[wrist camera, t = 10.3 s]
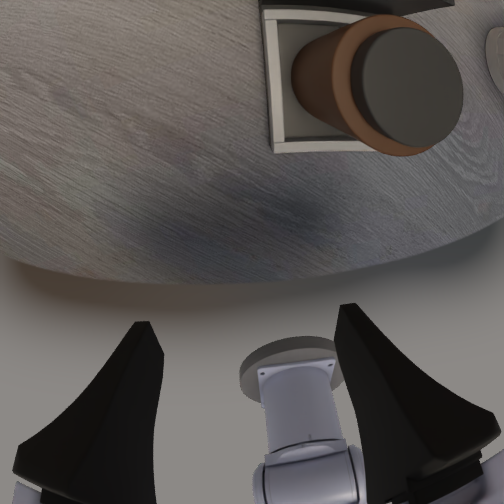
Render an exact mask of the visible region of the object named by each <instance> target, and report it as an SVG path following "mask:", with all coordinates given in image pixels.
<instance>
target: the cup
mask: <svg viewBox="0 0 504 504" xmlns="http://www.w3.org/2000/svg"><path fill="white" fill-rule="evenodd" d="M485 51H486V60H487V65H488V69H489V72H490V75H491V77H492V79H493V81H494V83H495V85H496V87H497V88H498V90H499V91H500V92H501V93H502V94H503V95H504V27H495V28H493V29H491V30H490V32H489V33H488V35H487V39H486V46H485Z"/></svg>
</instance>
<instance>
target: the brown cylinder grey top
mask: <svg viewBox="0 0 504 504" xmlns="http://www.w3.org/2000/svg"><path fill="white" fill-rule="evenodd" d="M291 84H292V88H293V92H294V94H295V96H296V98H297V100H298V102H299V103H300V104H301V106H302V107H303V108H304V109H305V110H306V111H307V112H308V113H309V114H311V115H312V116H313V117H315V118H317V119H319V120H321V121H323V122H325V123H327V124H329V125H331V126H333V127H335V128H336V129H338V130H340V131H342V132H344V133H346V134H348V135H349V136H351V137H353V138H355V139H357V140H358V141H360V142H362V143H364V144H365V145H367V146H369V147H371V148H372V149H374V150H376V151H379V152H381V153H383V154H387V155H391V156H411V155H416V154H419V153H422V152H424V151H426V150H428V149H430V148H431V147H432V146H434V145H435V144H437V143H439V142H440V141H442V140H443V139H445V138H446V137H447V136H448V135H449V134H450V133H451V131H452V130H453V129H454V127H455V126H456V124H457V122H458V120H459V117H460V114H461V111H462V106H463V84H462V79H461V75H460V72H459V69H458V67H457V65H456V63H455V61H454V59H453V57H452V56H451V54H450V53H449V52H448V50H447V49H446V48H445V47H444V46H443V45H442V44H441V43H440V42H439V41H438V40H437V39H436V38H435V37H434V36H433V35H432V34H431V33H429V32H428V31H427V30H426V29H425V28H423V27H422V26H420V25H419V24H417V23H415V22H413V21H411V20H409V19H406V18H403V17H400V16H396V15H389V14H380V15H373V16H369V17H366V18H363V19H361V20H358V21H356V22H353V23H351V24H348V25H346V26H344V27H341V28H339V29H337V30H334V31H332V32H330V33H328V34H326V35H324V36H321V37H319V38H317V39H315V40H313V41H311V42H310V43H308V44H307V45H305V46H304V47H303V48H302V49H301V50H300V51H299V53H298V54H297V56H296V57H295V59H294V62H293V65H292V69H291Z"/></svg>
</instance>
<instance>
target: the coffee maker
mask: <svg viewBox="0 0 504 504" xmlns="http://www.w3.org/2000/svg"><path fill="white" fill-rule="evenodd" d="M454 5H455V3H454V0H259V10H260V21H261V32H262V44H263V56H264V68H265V81H266V95H267V109H268V124H269V140H270V146H271V148H272V150H273V152H274V154H279V153H297V152H326V151H376V150H374V149H372V148H371V147H369V146H367V145H365V144H364V143H362V142H360V141H358V140H357V139H355V138H353V137H351V136H349V135H348V134H346V133H344V132H342V131H340V130H338V129H336V128H335V127H333V126H331V125H329V124H327V123H325V122H323V121H321V120H319V119H317V118H315V117H313V116H312V115H311V114H309V113H308V112H307V111H306V110H305V109H304V108H303V107H302V106H301V104H300V103H299V102H298V100H297V98H296V96H295V94H294V92H293V88H292V84H291V69H292V65H293V62H294V59H295V57H296V56H297V54H298V53H299V51H300V50H301V49H302V48H303V47H304V46H305V45H307V44H308V43H310V42H311V41H313V40H315V39H317V38H319V37H321V36H324V35H326V34H328V33H330V32H332V31H334V30H337V29H339V28H341V27H344V26H346V25H348V24H351V23H353V22H356V21H358V20H361V19H363V18H366V17H369V16H373V15H380V14H389V15H396V16H404V15H409V14H413V13H417V12H422V11H427V10H432V9H437V8H443V7H449V6H454ZM377 152H379V151H377Z"/></svg>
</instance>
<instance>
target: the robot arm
mask: <svg viewBox="0 0 504 504" xmlns="http://www.w3.org/2000/svg"><path fill="white" fill-rule="evenodd" d="M334 343H335V348H336V353H337V357H338V362H339V365H340V368H341V371H342V374H343V377H344V380H345V383H346V386H347V389H348V392H349V395H350V398H351V401H352V404H353V407H354V410H355V414H356V418H357V423H358V428H359V433H360V438H361V445H362V451H361V449H360V448H358V447H355V445H350V446H348V448H347V444H346V440H345V439H343V436H342V432H341V427H340V423H339V419H338V415H337V411H336V407H335V402H334V398H333V395H332V390H331V386H330V382H331V378H332V374H333V370H334V366H335V362H336V360H335V358H334V357H327V358H320V359H313V360H306V361H299V362H290V363H282V364H273V365H262V366H259V367H258V368H257V373H258V381H259V390H260V398H261V406H262V408H264V409H265V414H266V426H267V437H268V448H269V454H266V455H265V463H260V464H259V465H258V467H257V469H256V470H255V471H254V474H253V496H254V501H255V504H387V503H390V502H392V504H504V449H503V450H502V451H500V452H499V453H497V454H496V455H494V456H493V457H491V458H489V459H488V460H486V461H485V462H483V463H481V464H480V461H479V459H480V458H482V453H481V451H480V450H481V449H482V448H484V447H485V446H486V445H488V444H489V443H491V442H492V441H493V440H494V439H496V438H497V437H498V436H499V435H500V433H501V429H500V427H499V425H498V422H497V420H496V418H495V416H494V414H493V413H492V412H490V411H488V410H485V409H483V408H481V407H479V406H476V405H474V404H472V403H470V402H468V401H467V400H465V399H463V398H461V397H459V396H458V395H456V394H454V393H453V392H451V391H450V390H448V389H447V388H445V387H444V386H442V385H441V384H439V383H438V382H436V381H435V380H434V379H432V378H431V377H430V376H428V375H427V374H426V373H424V372H423V371H422V370H421V369H420V368H419V367H417V366H416V365H415V364H414V363H413V362H412V361H411V360H409V359H408V358H407V357H406V356H405V355H404V354H403V353H402V352H401V351H400V350H399V349H398V348H397V347H396V346H395V345H394V344H393V343H392V342H391V341H390V340H389V339H388V338H387V337H386V336H385V335H384V334H383V333H382V332H381V331H380V330H379V329H378V327H377V326H376V325H375V324H374V323H373V322H372V321H371V320H370V319H369V317H368V316H367V315H366V314H365V313H364V312H363V311H362V310H361V308H360V307H359V306H358V305H357V304H356V303H350V304H343V305H340V309H339V314H338V320H337V325H336V331H335V336H334ZM163 367H164V353H163V350H162V348H161V346H160V344H159V342H158V340H157V337H156V335H155V333H154V331H153V329H152V326H151V324H150V322H149V321H143V322H142V321H140V322H135V323H134V324H133V325H132V327H131V328H130V329H129V331H128V332H127V334H126V335H125V337H124V338H123V339H122V341H121V342H120V344H119V345H118V346H117V348H116V349H115V351H114V352H113V353H112V355H111V356H110V358H109V359H108V360H107V362H106V363H105V365H104V366H103V367H102V369H101V370H100V371H99V372H98V374H97V375H96V376H95V378H94V379H93V380H92V382H91V383H90V384H89V385H88V387H87V388H86V389H85V390H84V391H83V392H82V393H81V394H80V396H79V397H78V398H77V399H76V400H75V401H74V402H73V403H72V404H71V405H70V406H69V407H68V408H67V409H66V410H65V411H64V412H62V414H60V415H59V416H58V417H57V418H56V419H55V420H54V421H52V423H50V424H49V425H47V426H46V427H45V428H44V429H42V430H41V431H40V432H38V433H37V434H35V435H34V436H33V437H31V438H30V439H28V440H27V441H25V442H23V443H22V444H20V445H19V446H18V450H17V454H16V457H15V462H14V466H13V470H12V471H13V473H14V474H16V475H18V476H19V477H21V478H23V479H25V480H27V481H29V482H31V483H33V484H35V485H37V486H39V487H41V488H42V492H38V491H36V490H34V489H32V488H30V487H28V486H26V485H24V484H22V483H20V482H18V481H17V482H16V485H15V490H14V496H13V502H12V504H157V503H156V496H155V485H154V473H153V472H154V471H153V439H154V438H153V436H154V426H155V419H156V413H157V407H158V401H159V396H160V390H161V384H162V378H163ZM362 452H363V454H362Z"/></svg>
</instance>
